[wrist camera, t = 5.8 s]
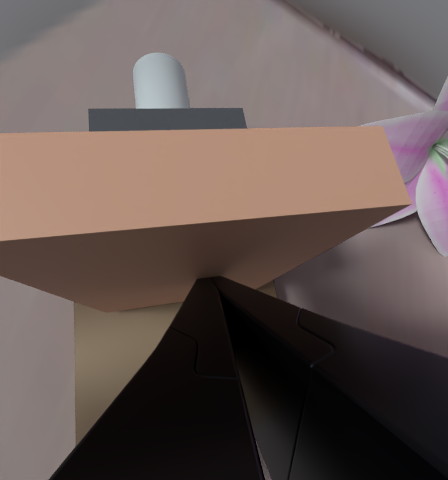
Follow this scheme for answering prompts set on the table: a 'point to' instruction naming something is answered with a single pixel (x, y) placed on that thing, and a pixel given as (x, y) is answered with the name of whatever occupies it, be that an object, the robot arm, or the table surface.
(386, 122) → the lily
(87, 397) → the tan board
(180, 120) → the charcoal metal brick
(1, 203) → the salmon pink upright block
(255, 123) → the table surface
